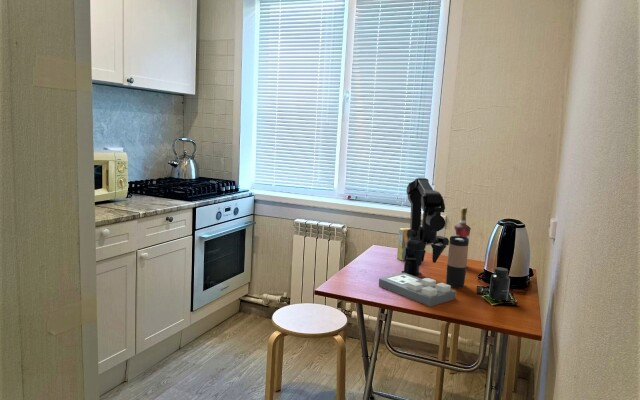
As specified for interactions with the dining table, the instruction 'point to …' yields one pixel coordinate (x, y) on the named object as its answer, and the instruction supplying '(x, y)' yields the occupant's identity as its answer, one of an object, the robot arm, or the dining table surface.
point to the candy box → (402, 242)
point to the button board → (400, 286)
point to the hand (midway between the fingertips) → (426, 264)
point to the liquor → (462, 226)
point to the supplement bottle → (499, 284)
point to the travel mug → (457, 261)
